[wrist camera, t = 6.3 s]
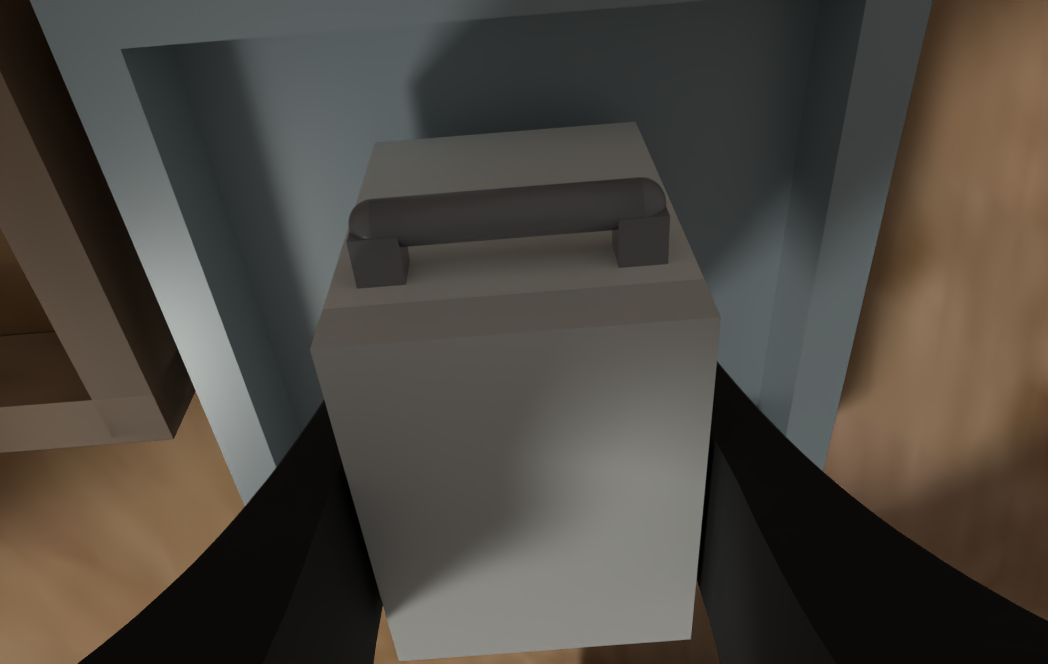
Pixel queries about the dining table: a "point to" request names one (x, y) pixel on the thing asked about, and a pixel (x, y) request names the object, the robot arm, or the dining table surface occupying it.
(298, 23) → the slate tray
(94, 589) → the dining table surface
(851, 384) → the dining table surface
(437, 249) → the box
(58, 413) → the walnut bay
